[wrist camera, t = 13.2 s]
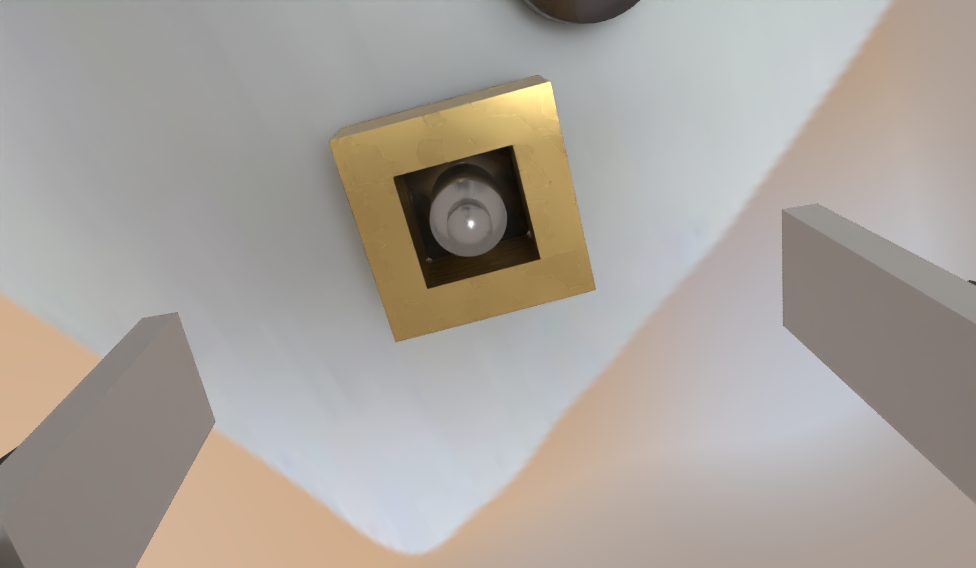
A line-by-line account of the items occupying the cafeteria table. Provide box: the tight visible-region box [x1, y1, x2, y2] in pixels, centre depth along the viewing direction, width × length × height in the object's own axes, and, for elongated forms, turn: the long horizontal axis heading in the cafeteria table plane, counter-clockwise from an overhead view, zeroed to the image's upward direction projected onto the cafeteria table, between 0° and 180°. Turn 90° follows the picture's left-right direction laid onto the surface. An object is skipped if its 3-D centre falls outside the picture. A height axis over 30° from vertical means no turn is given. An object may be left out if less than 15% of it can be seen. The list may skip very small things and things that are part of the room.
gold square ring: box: [329, 75, 596, 342], centre depth 32 cm, size 9×9×4 cm
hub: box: [403, 146, 529, 259], centre depth 32 cm, size 7×7×8 cm
